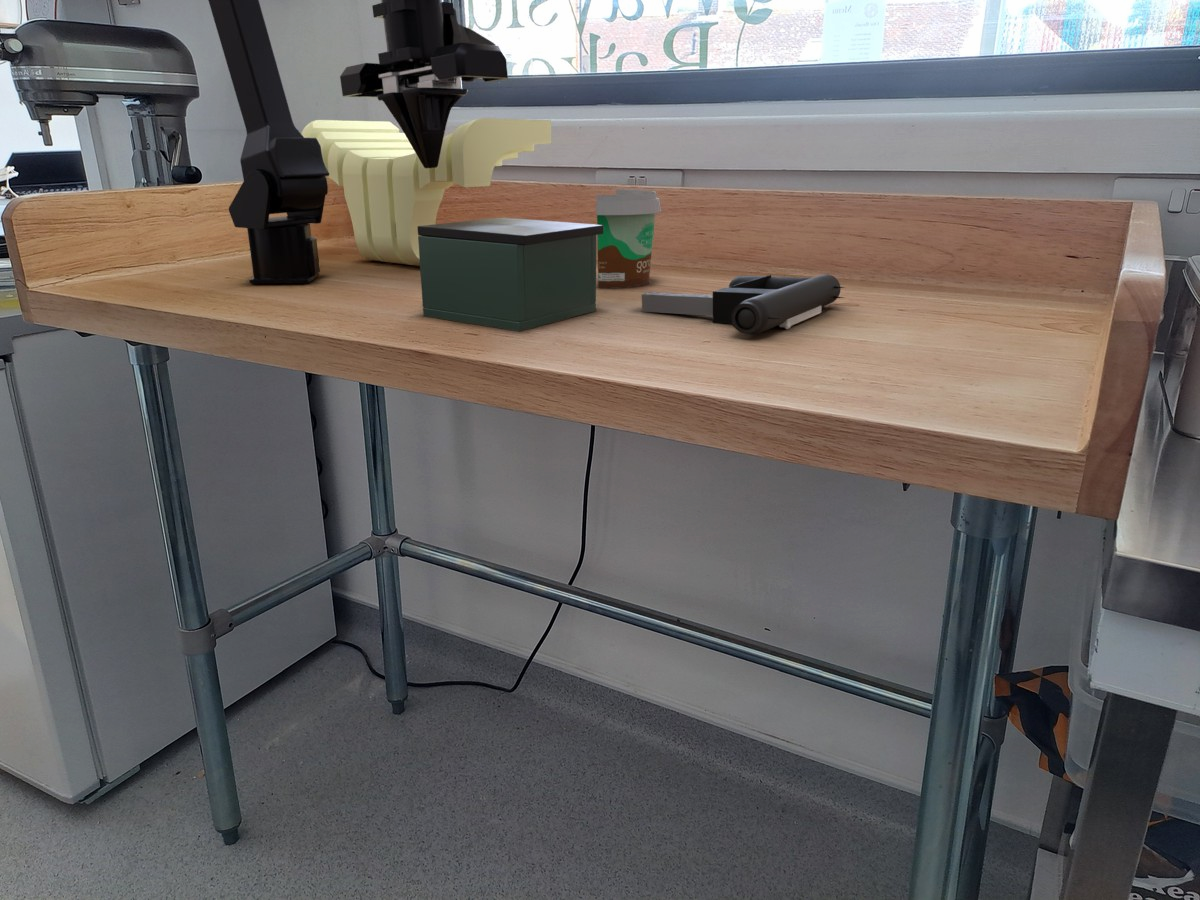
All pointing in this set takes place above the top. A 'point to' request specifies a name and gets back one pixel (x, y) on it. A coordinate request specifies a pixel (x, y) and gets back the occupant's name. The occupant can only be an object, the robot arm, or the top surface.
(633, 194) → the food container
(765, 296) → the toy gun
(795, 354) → the top surface
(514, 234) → the box lid
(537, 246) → the box
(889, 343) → the top surface
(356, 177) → the slatted curved stool
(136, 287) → the top surface
